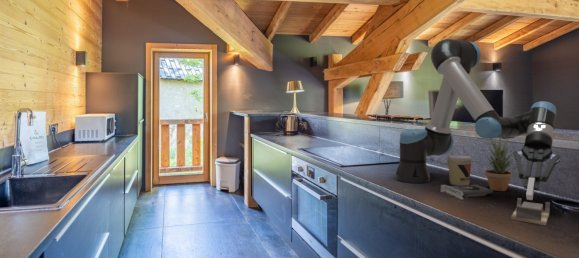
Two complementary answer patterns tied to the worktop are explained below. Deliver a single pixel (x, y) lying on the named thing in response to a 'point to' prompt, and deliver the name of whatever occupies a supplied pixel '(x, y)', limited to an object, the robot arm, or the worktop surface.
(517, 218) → the base
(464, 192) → the graphics card
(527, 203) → the latch lever
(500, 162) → the potted plant
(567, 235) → the worktop surface
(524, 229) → the worktop surface
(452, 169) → the coffee cup
